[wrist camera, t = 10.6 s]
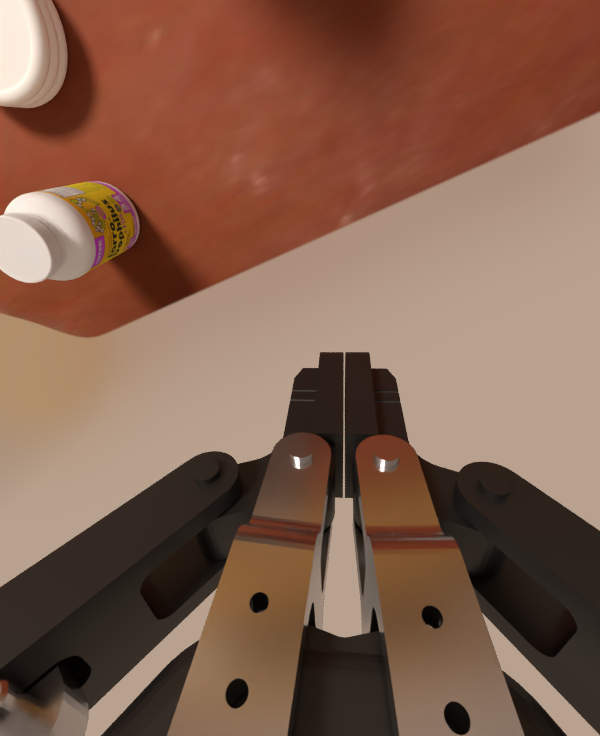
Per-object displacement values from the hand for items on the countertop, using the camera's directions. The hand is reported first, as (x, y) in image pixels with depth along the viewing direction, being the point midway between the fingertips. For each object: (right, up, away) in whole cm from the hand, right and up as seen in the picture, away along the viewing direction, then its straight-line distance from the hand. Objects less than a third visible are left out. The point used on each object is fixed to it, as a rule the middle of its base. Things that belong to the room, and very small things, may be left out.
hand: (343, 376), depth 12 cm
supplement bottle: (-20, +15, +25) cm, 36 cm away
